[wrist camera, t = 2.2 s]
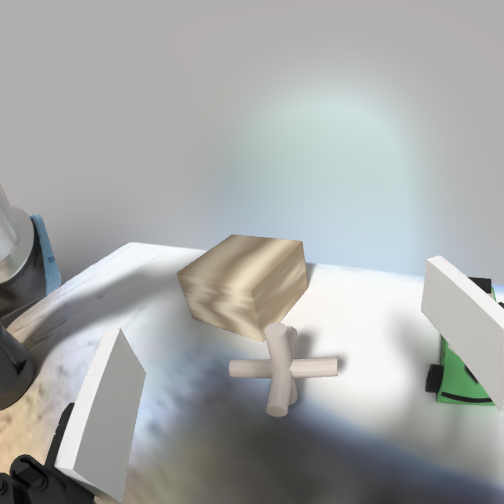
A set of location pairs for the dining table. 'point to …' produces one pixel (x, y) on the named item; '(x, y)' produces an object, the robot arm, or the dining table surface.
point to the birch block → (245, 283)
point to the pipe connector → (282, 368)
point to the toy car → (458, 371)
